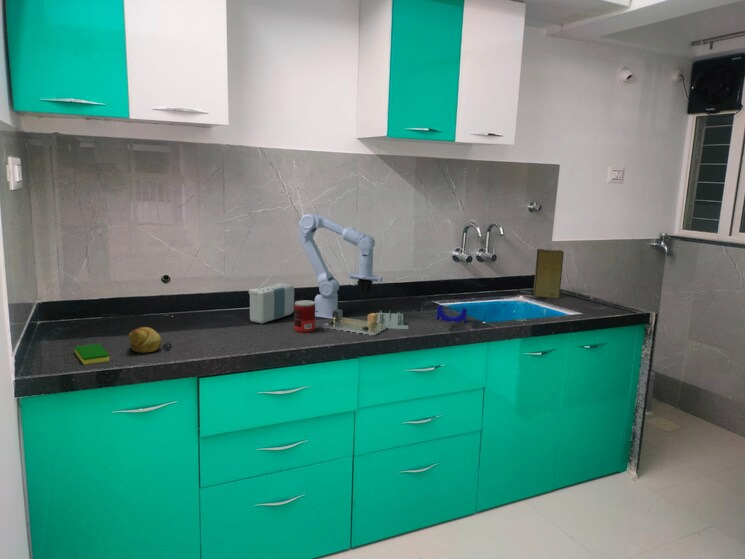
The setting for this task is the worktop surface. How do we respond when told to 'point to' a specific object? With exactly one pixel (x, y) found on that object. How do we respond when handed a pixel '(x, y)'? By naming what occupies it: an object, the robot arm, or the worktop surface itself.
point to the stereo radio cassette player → (271, 302)
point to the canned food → (304, 316)
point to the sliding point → (372, 318)
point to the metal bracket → (391, 320)
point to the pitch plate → (353, 324)
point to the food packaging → (548, 273)
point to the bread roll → (144, 340)
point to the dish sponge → (91, 354)
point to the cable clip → (454, 318)
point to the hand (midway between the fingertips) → (364, 297)
